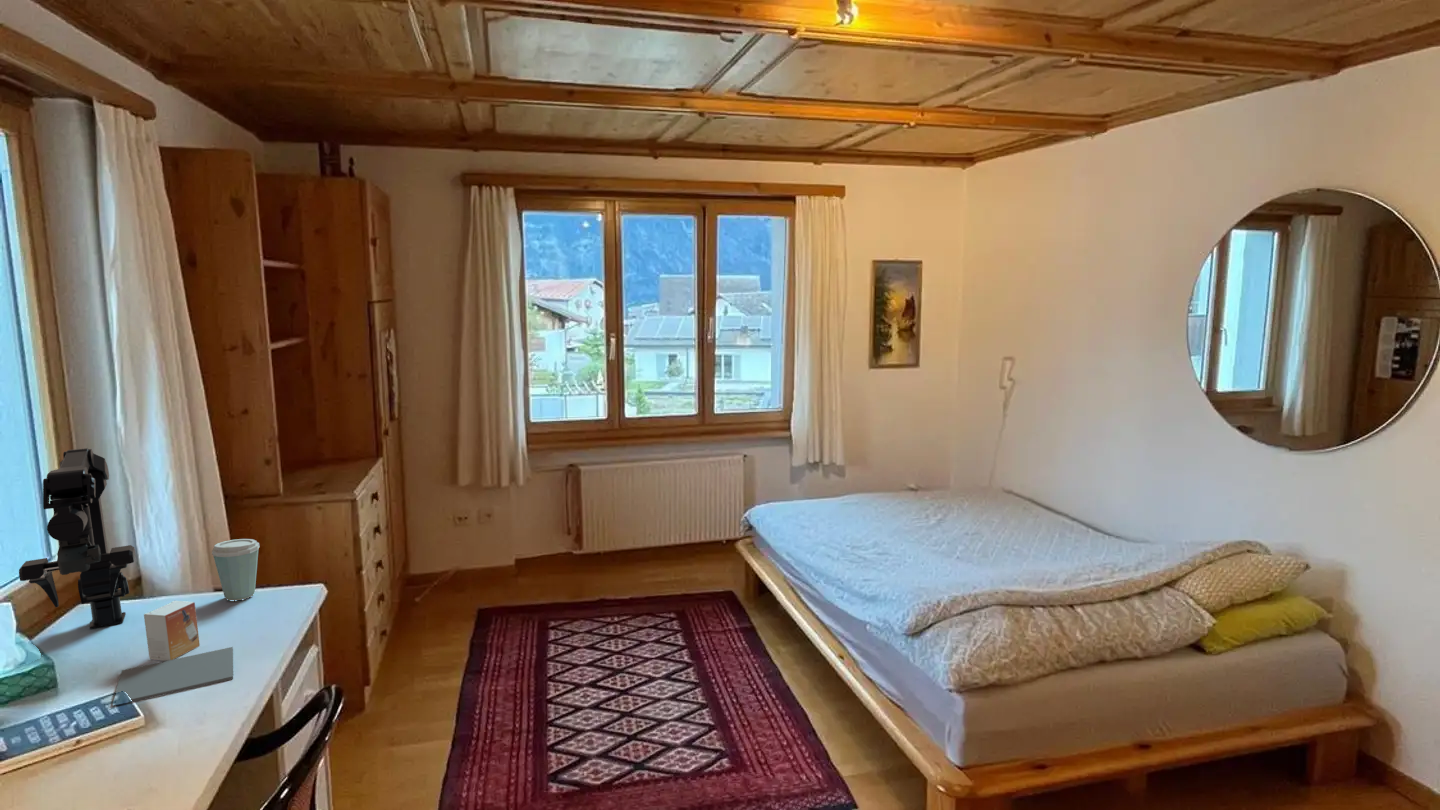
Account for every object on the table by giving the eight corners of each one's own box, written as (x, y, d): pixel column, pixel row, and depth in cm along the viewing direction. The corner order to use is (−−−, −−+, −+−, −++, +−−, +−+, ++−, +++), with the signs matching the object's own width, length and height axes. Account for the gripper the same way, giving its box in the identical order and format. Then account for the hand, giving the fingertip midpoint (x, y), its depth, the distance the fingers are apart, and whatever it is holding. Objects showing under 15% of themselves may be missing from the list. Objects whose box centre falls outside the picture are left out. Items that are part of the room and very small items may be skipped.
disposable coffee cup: (229, 590, 215) (223, 536, 213) (272, 588, 216) (266, 534, 214) (209, 606, 204) (202, 549, 202) (254, 603, 206) (247, 547, 203)
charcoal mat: (122, 672, 170) (121, 670, 170) (232, 649, 180) (232, 646, 180) (112, 706, 156) (112, 703, 156) (233, 678, 166) (232, 676, 166)
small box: (170, 662, 174) (164, 615, 173) (148, 660, 176) (142, 614, 174) (201, 645, 182) (195, 601, 181) (180, 643, 183) (174, 599, 182)
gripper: (8, 547, 157) (19, 624, 159) (126, 530, 167) (136, 603, 169) (19, 534, 166) (30, 607, 168) (131, 519, 176) (140, 588, 178)
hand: (85, 601), depth 171 cm, fingers open, 9 cm apart
